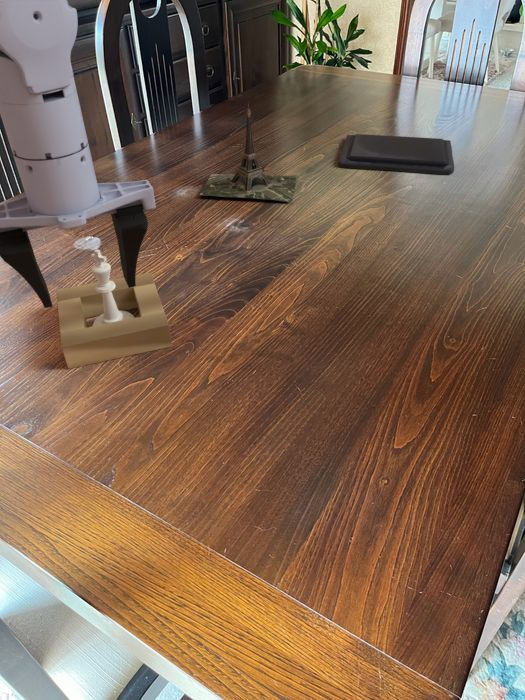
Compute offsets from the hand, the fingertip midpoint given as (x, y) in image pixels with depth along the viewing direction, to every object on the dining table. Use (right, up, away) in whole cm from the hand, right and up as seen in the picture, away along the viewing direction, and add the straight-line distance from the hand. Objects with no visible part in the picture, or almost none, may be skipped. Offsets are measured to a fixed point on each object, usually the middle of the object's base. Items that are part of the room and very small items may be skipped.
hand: (89, 291), depth 52 cm
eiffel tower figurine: (+14, +21, +40) cm, 47 cm away
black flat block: (+41, +30, +49) cm, 71 cm away
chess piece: (-1, -3, +11) cm, 12 cm away
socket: (-1, -3, +11) cm, 11 cm away
